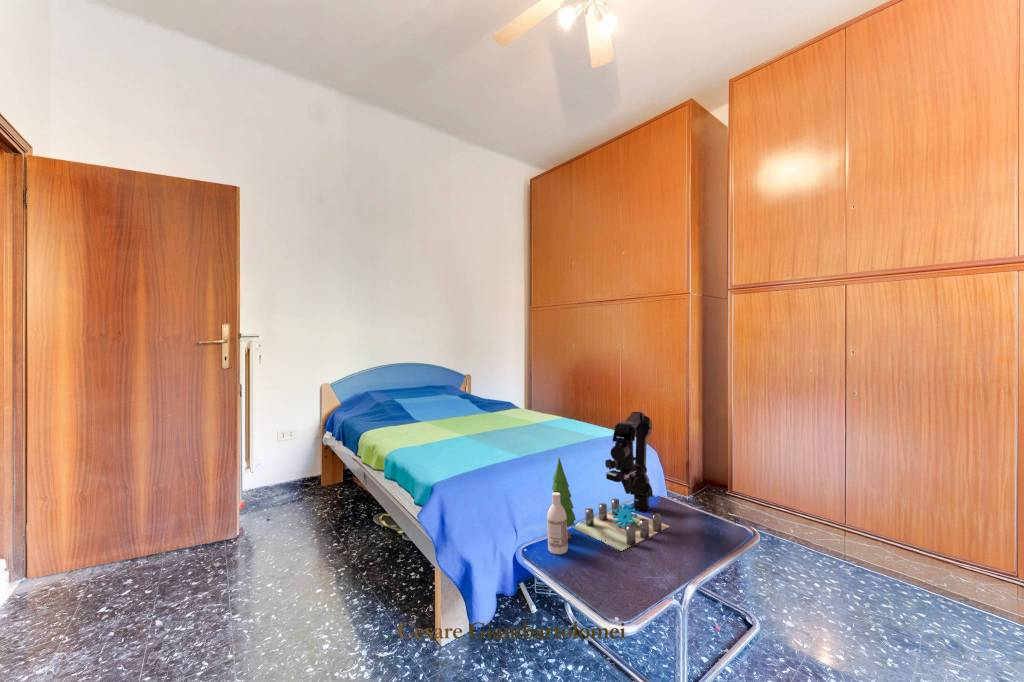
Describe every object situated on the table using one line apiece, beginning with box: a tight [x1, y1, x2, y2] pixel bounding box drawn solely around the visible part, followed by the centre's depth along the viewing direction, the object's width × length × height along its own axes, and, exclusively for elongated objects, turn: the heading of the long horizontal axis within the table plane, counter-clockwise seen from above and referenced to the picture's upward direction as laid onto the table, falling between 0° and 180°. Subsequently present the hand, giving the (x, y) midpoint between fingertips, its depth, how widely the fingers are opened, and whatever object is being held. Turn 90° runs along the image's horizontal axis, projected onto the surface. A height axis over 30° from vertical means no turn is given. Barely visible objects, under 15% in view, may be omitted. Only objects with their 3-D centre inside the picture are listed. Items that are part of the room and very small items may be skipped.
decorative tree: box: [551, 458, 577, 540], centre depth 151 cm, size 10×9×30 cm
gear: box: [613, 503, 639, 529], centre depth 158 cm, size 11×6×10 cm
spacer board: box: [571, 508, 671, 552], centre depth 156 cm, size 30×24×1 cm
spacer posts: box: [584, 498, 663, 547], centre depth 155 cm, size 19×23×6 cm
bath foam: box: [546, 491, 569, 555], centre depth 141 cm, size 7×7×20 cm
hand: (627, 493), depth 158 cm, fingers closed
